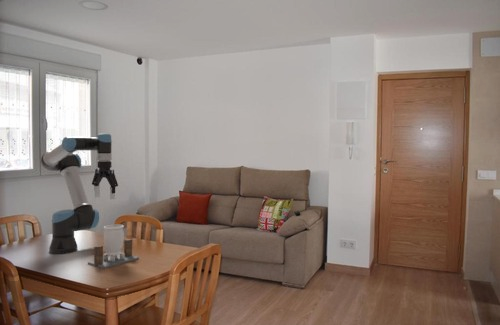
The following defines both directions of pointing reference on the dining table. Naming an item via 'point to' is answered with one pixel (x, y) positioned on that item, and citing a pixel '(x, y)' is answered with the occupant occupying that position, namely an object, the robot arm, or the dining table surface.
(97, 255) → the frame posts
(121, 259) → the peg stand
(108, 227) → the jar
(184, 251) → the dining table surface
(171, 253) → the dining table surface
